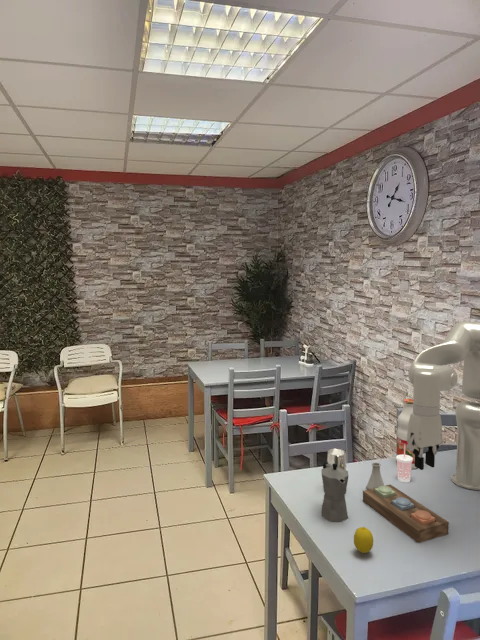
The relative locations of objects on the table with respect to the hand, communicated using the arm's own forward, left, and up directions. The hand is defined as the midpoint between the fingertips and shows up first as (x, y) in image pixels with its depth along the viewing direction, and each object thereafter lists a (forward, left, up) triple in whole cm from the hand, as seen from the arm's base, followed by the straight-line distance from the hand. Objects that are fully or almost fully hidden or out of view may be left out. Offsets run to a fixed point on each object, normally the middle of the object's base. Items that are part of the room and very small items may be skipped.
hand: (424, 466), depth 141 cm
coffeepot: (+20, -20, -21) cm, 35 cm away
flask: (-4, -28, -22) cm, 36 cm away
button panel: (0, -9, -21) cm, 23 cm away
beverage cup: (-19, -30, -21) cm, 41 cm away
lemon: (+24, +2, -21) cm, 32 cm away
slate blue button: (0, -9, -19) cm, 21 cm away
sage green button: (0, -18, -19) cm, 26 cm away
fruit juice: (-30, -40, -21) cm, 54 cm away
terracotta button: (0, 0, -19) cm, 19 cm away
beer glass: (+10, -33, -21) cm, 41 cm away
